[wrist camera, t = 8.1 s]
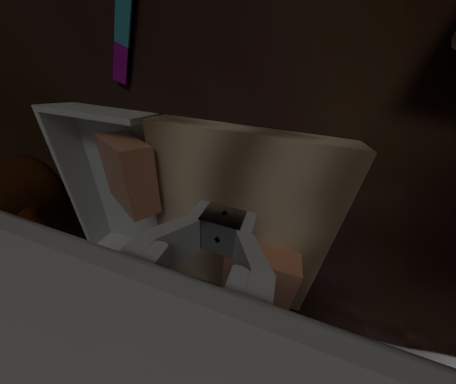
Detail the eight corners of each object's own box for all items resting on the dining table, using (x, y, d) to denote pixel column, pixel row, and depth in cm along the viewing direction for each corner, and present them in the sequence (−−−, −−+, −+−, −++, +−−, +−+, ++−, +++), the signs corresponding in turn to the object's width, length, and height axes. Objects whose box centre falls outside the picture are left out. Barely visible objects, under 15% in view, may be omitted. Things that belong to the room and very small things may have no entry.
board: (360, 140, 11) (377, 152, 9) (297, 285, 18) (298, 310, 16) (164, 114, 14) (142, 119, 11) (176, 249, 21) (163, 267, 19)
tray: (158, 113, 14) (129, 119, 11) (172, 248, 21) (156, 269, 18) (73, 102, 15) (30, 104, 13) (113, 230, 22) (90, 248, 20)
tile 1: (153, 146, 12) (118, 152, 10) (161, 211, 14) (134, 222, 13) (123, 130, 15) (93, 133, 13) (134, 186, 17) (110, 193, 16)
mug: (99, 181, 19) (-37, 246, 11) (106, 232, 23) (11, 307, 15) (5, 142, 20) (-175, 177, 12) (28, 198, 24) (-98, 250, 16)
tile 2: (301, 253, 13) (303, 278, 11) (284, 295, 15) (284, 320, 14) (232, 235, 14) (224, 255, 12) (227, 277, 16) (220, 298, 15)
